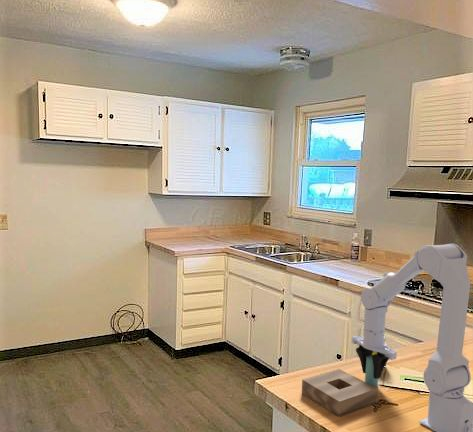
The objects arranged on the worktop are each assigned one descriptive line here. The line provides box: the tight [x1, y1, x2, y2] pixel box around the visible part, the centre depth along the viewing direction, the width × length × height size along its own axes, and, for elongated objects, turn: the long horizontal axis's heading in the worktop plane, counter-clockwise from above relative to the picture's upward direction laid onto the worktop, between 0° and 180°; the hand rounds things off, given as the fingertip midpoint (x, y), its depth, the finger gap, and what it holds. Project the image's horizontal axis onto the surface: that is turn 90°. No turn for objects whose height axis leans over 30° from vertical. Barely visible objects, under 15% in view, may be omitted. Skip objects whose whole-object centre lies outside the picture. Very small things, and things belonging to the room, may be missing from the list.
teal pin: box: [364, 356, 379, 388], centre depth 131 cm, size 4×4×8 cm
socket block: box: [301, 368, 379, 417], centre depth 123 cm, size 14×14×4 cm
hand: (371, 375), depth 131 cm, fingers closed on teal pin, 3 cm apart
